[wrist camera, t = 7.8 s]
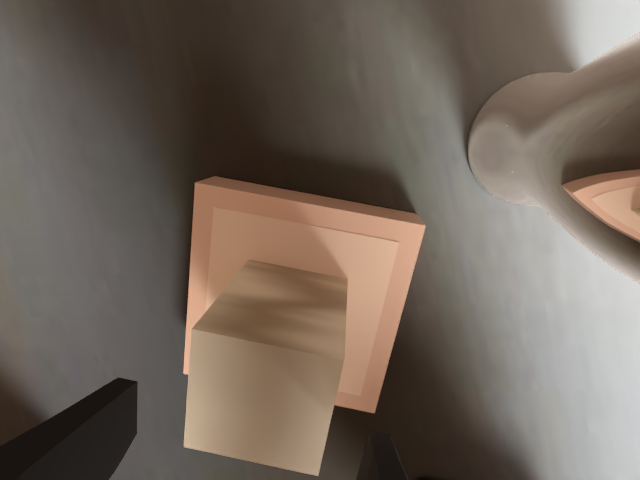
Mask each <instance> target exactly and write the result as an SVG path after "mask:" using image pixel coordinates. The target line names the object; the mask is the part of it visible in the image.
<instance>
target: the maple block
mask: <svg viewBox="0 0 640 480" xmlns="http://www.w3.org/2000/svg"><path fill="white" fill-rule="evenodd" d="M347 287H348V279H347V278H342V277H336V276H331V275H326V274H321V273H316V272H311V271H306V270H301V269H295V268H290V267H285V266H280V265H275V264H270V263H265V262H260V261H255V260H248V261H247V262H246V264H245V265H244V266H243V267H242V268H241V270H240V271H239V272H238V273H237V274H236V276H235V277H234V278H233V279H232V281H231V282H230V283H229V284H228V285H227V287H226V288H225V289H224V290H223V291H222V293H221V294H220V295H219V296H218V298H217V299H216V300H215V301H214V302H213V304H212V305H211V306H210V307H209V308H208V310H207V311H206V312H205V313H204V315H203V316H202V317H201V318H200V319H199V321H198V322H197V323H196V324H195V325H194V327H193V328H192V330H191V345H190V360H189V375H188V390H187V405H186V420H185V435H184V447H187V448H191V449H196V450H200V451H205V452H210V453H214V454H219V455H223V456H228V457H233V458H237V459H242V460H246V461H251V462H256V463H260V464H265V465H269V466H274V467H279V468H283V469H288V470H293V471H297V472H302V473H306V474H311V475H316V476H318V474H319V470H320V465H321V461H322V457H323V452H324V448H325V443H326V439H327V435H328V430H329V426H330V421H331V417H332V413H333V408H334V404H335V399H336V395H337V391H338V386H339V382H340V377H341V373H342V369H343V364H344V358H345V334H346V310H347Z"/></svg>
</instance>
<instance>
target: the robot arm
mask: <svg viewBox="0 0 640 480" xmlns="http://www.w3.org/2000/svg"><path fill="white" fill-rule="evenodd" d="M136 434H137V381H132V380H128V379H123V378H117V379H115V380H113V381H112V382H110V383H108V384H107V385H105V386H103V387H102V388H100V389H98V390H97V391H95V392H93V393H92V394H90V395H88V396H87V397H85V398H84V399H82V400H80V401H79V402H77V403H75V404H74V405H72V406H70V407H69V408H67V409H65V410H64V411H62V412H60V413H59V414H57V415H55V416H53V417H52V418H50V419H48V420H47V421H45V422H43V423H42V424H40V425H38V426H36V427H35V428H33V429H31V430H29V431H27V432H25V433H24V434H22V435H20V436H18V437H16V438H15V439H13V440H11V441H9V442H7V443H5V444H4V445H2V446H0V480H109V478H110V477H111V476H112V474H113V473H114V471H115V470H116V468H117V467H118V465H119V463H120V462H121V460H122V458H123V457H124V455H125V453H126V452H127V450H128V448H129V446H130V444H131V443H132V441H133V439H134V437H135V436H136ZM356 480H409V479H408V476H407V474H406V471H405V469H404V467H403V464H402V462H401V459H400V457H399V454H398V452H397V449H396V446H395V444H394V441H393V438H392V437H391V436H390V435H388V434H383V433H379V432H374V431H370V432H369V435H368V439H367V443H366V446H365V450H364V454H363V457H362V461H361V465H360V468H359V472H358V476H357V479H356Z"/></svg>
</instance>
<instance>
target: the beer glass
mask: <svg viewBox="0 0 640 480" xmlns="http://www.w3.org/2000/svg"><path fill="white" fill-rule="evenodd" d="M468 159H469V164H470V167H471V170H472V172H473V174H474V176H475V178H476V179H477V181H478V182H479V184H480V185H481V186H482V187H483V188H484V189H485V190H486V191H487V192H488V193H490V194H491V195H493V196H494V197H496V198H498V199H500V200H502V201H505V202H508V203H512V204H518V205H528V206H539V207H541V208H542V209H543V210H544V211H545V212H546V213H547V214H548V215H549V216H551V217H552V218H553V219H554V220H555V221H556V222H557V223H558V224H559V225H560V226H561V227H562V228H564V229H565V230H566V231H567V232H568V233H569V234H570V235H571V236H573V237H574V238H575V239H576V240H577V241H578V242H579V243H581V244H582V245H583V246H585V247H586V248H587V249H589V250H590V251H591V252H592V253H594V254H595V255H596V256H598V257H599V258H600V259H602V260H603V261H604V262H606V263H607V264H608V265H610V266H611V267H613V268H614V269H615V270H617V271H618V272H620V273H622V274H623V275H625V276H627V277H629V278H630V279H632V280H634V281H635V282H637V283H639V284H640V32H639V33H637V34H635V35H634V36H632V37H630V38H629V39H627V40H625V41H624V42H622V43H620V44H619V45H617V46H615V47H614V48H612V49H610V50H609V51H607V52H605V53H603V54H602V55H600V56H599V57H597V58H595V59H594V60H592V61H590V62H589V63H587V64H586V65H584V66H582V67H581V68H579V69H577V70H575V71H574V72H572V73H562V72H542V73H535V74H531V75H527V76H524V77H521V78H518V79H516V80H514V81H512V82H510V83H508V84H506V85H505V86H503V87H502V88H501V89H499V90H498V91H497V92H496V93H495V94H493V95H492V96H491V97H490V98H489V99H488V101H487V102H486V103H485V104H484V105H483V107H482V108H481V109H480V111H479V113H478V114H477V116H476V118H475V120H474V122H473V125H472V127H471V131H470V134H469V140H468Z"/></svg>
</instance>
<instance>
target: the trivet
mask: <svg viewBox="0 0 640 480" xmlns="http://www.w3.org/2000/svg"><path fill="white" fill-rule="evenodd" d="M425 227H426V225H425V224H424V223H423V221H422V220H421V219H420V218H419V216H418V215H417V214H415V213H410V212H405V211H399V210H394V209H389V208H383V207H378V206H372V205H367V204H362V203H356V202H351V201H346V200H340V199H335V198H330V197H324V196H319V195H313V194H308V193H303V192H297V191H292V190H287V189H281V188H276V187H270V186H265V185H260V184H254V183H249V182H244V181H238V180H233V179H228V178H222V177H217V176H214V177H211V178H207V179H204V180H201V181H198V182H195V191H194V208H193V224H192V241H191V257H190V274H189V290H188V307H187V323H186V340H185V356H184V373H183V374H188V375H189V360H190V345H191V330H192V328H193V327H194V325H195V324H196V323H197V322H198V321H199V319H200V318H201V317H202V316H203V315H204V313H205V312H206V311H207V310H208V308H209V307H210V306H211V305H212V304H213V302H214V301H215V300H216V299H217V298H218V296H219V295H220V294H221V293H222V291H223V290H224V289H225V288H226V287H227V285H228V284H229V283H230V282H231V281H232V279H233V278H234V277H235V276H236V274H237V273H238V272H239V271H240V270H241V268H242V267H243V266H244V265H245V264H246V262H247V261H248V260H255V261H260V262H265V263H270V264H275V265H280V266H285V267H290V268H295V269H301V270H306V271H311V272H316V273H321V274H326V275H331V276H336V277H342V278H347V279H348V287H347V310H346V334H345V358H344V364H343V369H342V373H341V377H340V382H339V386H338V391H337V395H336V399H335V404H334V405H336V406H341V407H346V408H351V409H356V410H360V411H365V412H370V413H375V410H376V406H377V403H378V399H379V395H380V392H381V388H382V384H383V381H384V377H385V373H386V370H387V366H388V362H389V359H390V355H391V351H392V348H393V344H394V340H395V337H396V333H397V329H398V326H399V322H400V318H401V315H402V311H403V307H404V304H405V300H406V296H407V293H408V289H409V285H410V282H411V278H412V274H413V271H414V267H415V263H416V260H417V256H418V252H419V249H420V245H421V241H422V238H423V234H424V230H425Z"/></svg>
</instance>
